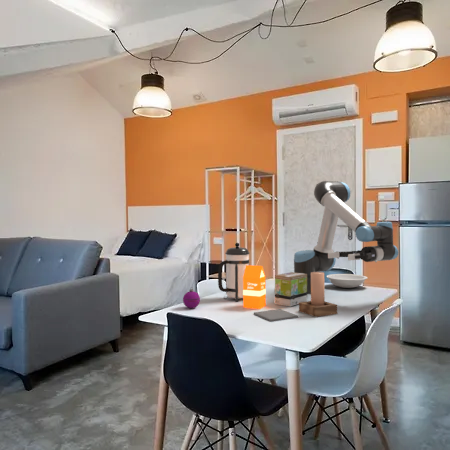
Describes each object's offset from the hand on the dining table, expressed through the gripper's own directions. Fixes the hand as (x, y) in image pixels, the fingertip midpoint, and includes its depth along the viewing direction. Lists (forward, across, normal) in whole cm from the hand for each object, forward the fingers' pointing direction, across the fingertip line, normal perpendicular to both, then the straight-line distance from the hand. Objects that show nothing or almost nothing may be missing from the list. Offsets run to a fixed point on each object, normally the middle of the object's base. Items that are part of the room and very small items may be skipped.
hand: (338, 256), depth 187 cm
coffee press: (+32, +42, -24) cm, 58 cm away
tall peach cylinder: (+14, -1, -24) cm, 28 cm away
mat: (+34, +3, -24) cm, 42 cm away
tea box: (+12, +21, -24) cm, 34 cm away
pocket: (+14, -1, -24) cm, 28 cm away
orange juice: (+32, +23, -24) cm, 47 cm away
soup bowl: (-43, +40, -24) cm, 64 cm away
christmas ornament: (+60, +35, -24) cm, 74 cm away
